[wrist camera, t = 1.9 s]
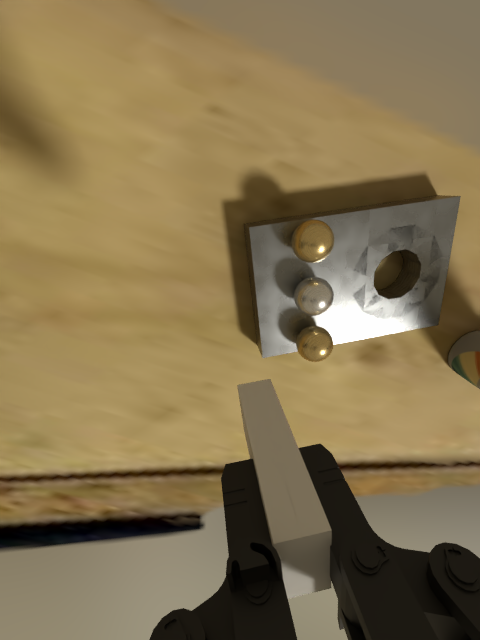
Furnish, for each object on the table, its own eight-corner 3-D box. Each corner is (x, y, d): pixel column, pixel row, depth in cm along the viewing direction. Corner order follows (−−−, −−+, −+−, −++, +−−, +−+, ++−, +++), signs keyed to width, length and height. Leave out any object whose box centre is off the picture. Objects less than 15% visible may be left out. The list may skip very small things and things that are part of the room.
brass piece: (292, 353, 29) (303, 371, 26) (290, 323, 27) (302, 339, 24) (324, 347, 29) (339, 364, 26) (324, 317, 28) (340, 332, 25)
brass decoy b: (287, 260, 25) (300, 270, 22) (285, 220, 24) (298, 225, 21) (324, 254, 25) (341, 263, 22) (324, 215, 24) (342, 218, 21)
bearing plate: (257, 345, 31) (262, 358, 28) (243, 223, 26) (249, 227, 23) (420, 315, 32) (438, 324, 30) (438, 195, 27) (460, 196, 25)
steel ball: (290, 310, 27) (302, 325, 24) (288, 275, 26) (300, 287, 23) (324, 304, 27) (340, 318, 24) (324, 269, 26) (341, 280, 23)
